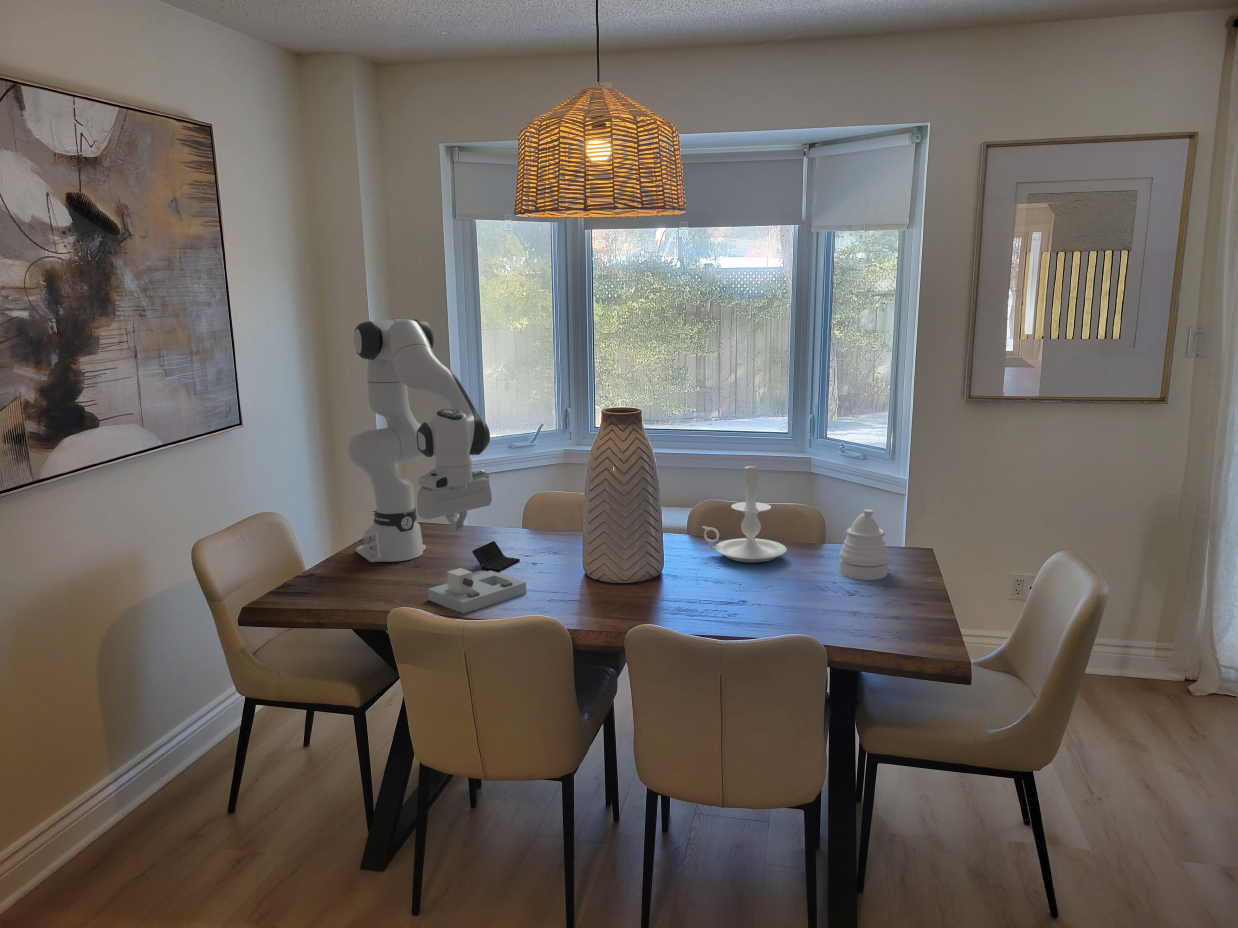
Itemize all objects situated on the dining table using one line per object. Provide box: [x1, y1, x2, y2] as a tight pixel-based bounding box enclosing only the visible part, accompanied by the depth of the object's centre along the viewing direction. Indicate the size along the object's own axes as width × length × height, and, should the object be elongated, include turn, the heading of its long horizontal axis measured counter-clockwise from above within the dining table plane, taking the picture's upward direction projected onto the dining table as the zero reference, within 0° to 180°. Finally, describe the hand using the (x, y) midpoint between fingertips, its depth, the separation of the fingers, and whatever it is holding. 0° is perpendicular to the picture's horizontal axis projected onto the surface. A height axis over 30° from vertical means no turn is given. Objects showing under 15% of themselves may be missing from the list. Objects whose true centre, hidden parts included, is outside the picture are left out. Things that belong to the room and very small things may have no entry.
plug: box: [446, 567, 474, 596], centre depth 217 cm, size 7×4×8 cm, turn 46°
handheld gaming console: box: [471, 540, 521, 573], centre depth 248 cm, size 12×7×10 cm
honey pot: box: [838, 508, 889, 581], centre depth 234 cm, size 13×13×18 cm
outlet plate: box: [427, 570, 527, 615], centre depth 222 cm, size 15×20×4 cm
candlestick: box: [701, 463, 787, 564], centre depth 248 cm, size 21×25×28 cm
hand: (457, 529), depth 215 cm, fingers closed
